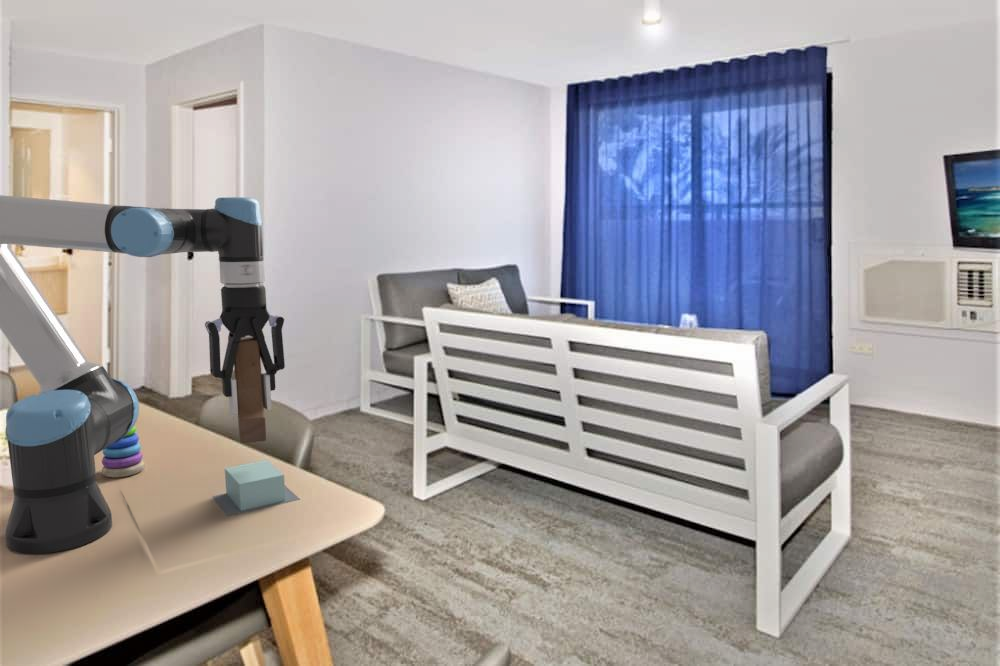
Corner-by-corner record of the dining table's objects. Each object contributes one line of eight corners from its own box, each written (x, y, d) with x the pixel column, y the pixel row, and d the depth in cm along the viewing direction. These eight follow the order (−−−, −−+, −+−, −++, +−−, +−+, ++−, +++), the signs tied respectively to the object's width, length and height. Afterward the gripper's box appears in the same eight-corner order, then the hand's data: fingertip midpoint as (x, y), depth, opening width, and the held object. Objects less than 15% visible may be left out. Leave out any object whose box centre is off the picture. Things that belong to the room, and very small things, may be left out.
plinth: (241, 510, 127) (239, 484, 126) (226, 493, 135) (224, 468, 134) (285, 500, 131) (283, 474, 130) (268, 484, 139) (267, 460, 138)
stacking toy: (153, 466, 151) (146, 380, 148) (130, 479, 143) (122, 389, 140) (118, 465, 152) (110, 379, 149) (93, 478, 144) (85, 388, 141)
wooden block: (267, 441, 128) (260, 343, 125) (240, 444, 126) (233, 345, 123) (263, 428, 136) (257, 335, 133) (238, 430, 134) (232, 337, 131)
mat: (228, 519, 124) (228, 515, 124) (212, 499, 133) (212, 496, 133) (300, 502, 132) (300, 499, 132) (281, 484, 141) (280, 481, 141)
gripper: (193, 289, 118) (203, 423, 122) (300, 283, 129) (306, 407, 132) (183, 286, 124) (193, 414, 128) (286, 280, 135) (292, 399, 139)
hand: (250, 410), depth 130 cm, fingers closed on wooden block, 5 cm apart
